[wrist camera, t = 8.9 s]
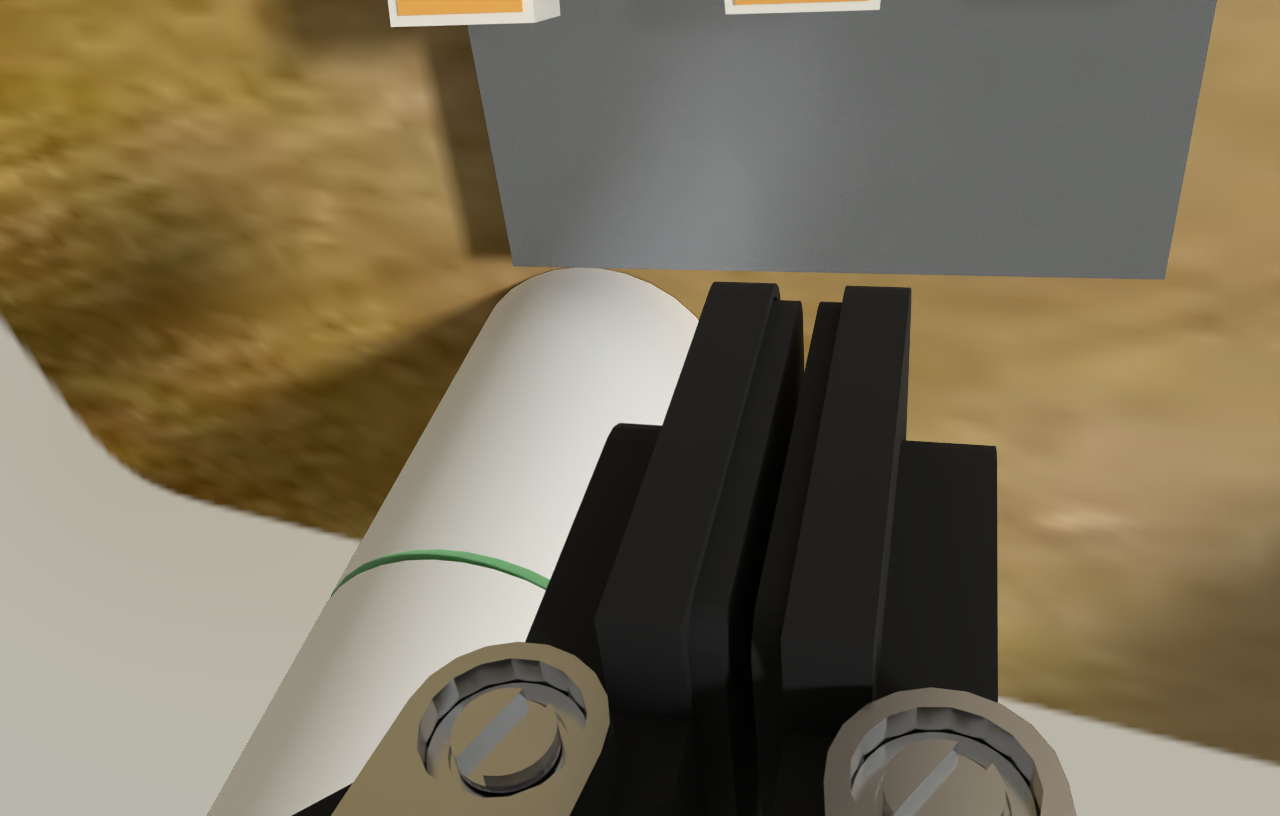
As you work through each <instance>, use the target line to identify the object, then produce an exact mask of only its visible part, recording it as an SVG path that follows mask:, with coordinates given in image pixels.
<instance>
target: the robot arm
mask: <svg viewBox="0 0 1280 816" xmlns="http://www.w3.org/2000/svg"><path fill="white" fill-rule="evenodd" d="M910 320H911V288H903V287H871V286H846V288H845V292H844V296H843V302H820V303H819V306H818V311H817V316H816V320H815V325H814V330H813V334H812V339H811V344H810V349H809V353H808V358H807V363H806V368H805V372H804V342H803V311H802V304H801V301H785V300H780V293H779V287H778V285H777V284H774V283H742V282H714V283H713V284H712V286H711V288H710V290H709V293H708V296H707V299H706V302H705V305H704V307H703V310H702V313H701V316H700V319H699V322H698V325H697V327H696V330H695V333H694V336H693V339H692V342H691V345H690V347H689V350H688V353H687V356H686V359H685V362H684V365H683V367H682V370H681V373H680V376H679V379H678V382H677V385H676V387H675V390H674V393H673V396H672V399H671V402H670V405H669V407H668V410H667V413H666V416H665V419H664V422H663V425H646V424H630V423H618V424H617V425H616V426H614V427H613V428H612V430H611V432H610V434H609V436H608V438H607V440H606V442H605V445H604V447H603V450H602V452H601V455H600V457H599V460H598V462H597V465H596V467H595V470H594V472H593V475H592V477H591V479H590V482H589V484H588V487H587V489H586V492H585V494H584V497H583V499H582V502H581V504H580V507H579V509H578V512H577V514H576V517H575V519H574V522H573V524H572V527H571V529H570V532H569V534H568V537H567V539H566V542H565V544H564V546H563V549H562V551H561V554H560V556H559V559H558V561H557V564H556V566H555V569H554V571H553V574H552V576H551V579H550V581H549V584H548V586H547V589H546V591H545V594H544V596H543V599H542V601H541V604H540V606H539V609H538V611H537V613H536V616H535V618H534V621H533V623H532V626H531V628H530V631H529V633H528V636H527V638H526V641H525V642H513V643H505V644H498V645H491V646H486V647H483V648H480V649H478V650H475V651H473V652H470V653H467V654H465V655H462V656H460V657H457V658H455V659H454V660H452V661H451V662H449V663H448V664H446V665H445V666H443V667H442V668H440V669H439V670H438V671H436V672H435V673H433V674H432V675H430V676H429V677H428V678H427V679H426V681H425V682H424V683H423V684H422V685H421V686H420V687H419V688H418V690H417V691H416V692H415V693H414V694H413V695H412V696H411V697H410V699H409V700H408V701H407V703H406V704H405V706H404V707H403V709H402V710H401V712H400V713H399V715H398V716H397V718H396V719H395V721H394V722H393V724H392V725H391V727H390V728H389V730H388V731H387V733H386V734H385V736H384V737H383V739H382V740H381V742H380V743H379V745H378V746H377V748H376V749H375V751H374V752H373V754H372V755H371V757H370V758H369V760H368V761H367V763H366V764H365V766H364V767H363V769H362V770H361V772H360V773H359V775H358V776H357V778H356V779H355V780H354V782H353V783H351V784H350V785H348V786H346V787H344V788H342V789H340V790H338V791H337V792H335V793H333V794H331V795H329V796H327V797H325V798H323V799H322V800H320V801H318V802H316V803H314V804H312V805H310V806H309V807H307V808H305V809H303V810H301V811H299V812H297V813H295V814H294V815H292V816H1076V812H1075V808H1074V804H1073V800H1072V795H1071V791H1070V787H1069V783H1068V781H1067V778H1066V776H1065V774H1064V771H1063V769H1062V767H1061V764H1060V762H1059V760H1058V758H1057V755H1056V753H1055V751H1054V750H1053V749H1052V748H1051V746H1050V745H1049V744H1048V743H1047V742H1046V741H1045V739H1044V738H1043V737H1042V736H1041V735H1040V734H1039V732H1038V731H1037V730H1036V729H1035V728H1034V727H1033V726H1032V725H1031V724H1030V723H1028V722H1027V721H1025V720H1024V719H1023V718H1021V717H1020V716H1018V715H1017V714H1015V713H1014V712H1012V711H1011V710H1009V709H1007V708H1006V707H1005V706H1003V705H1002V704H999V703H998V626H997V451H996V446H985V445H968V444H952V443H936V442H920V441H906V424H907V398H908V372H909V346H910Z"/></svg>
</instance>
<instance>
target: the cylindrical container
mask: <svg viewBox="0 0 1280 816" xmlns="http://www.w3.org/2000/svg"><path fill="white" fill-rule="evenodd" d="M698 322H699V321H698V319H697V318H696V317H695V316H694V315H693V314H692V313H691V312H690V311H689V310H688V309H686V308H685V307H684V306H683V305H682V304H681V303H680V302H678V301H677V300H676V299H675V298H674V297H672V296H670V295H669V294H667V293H665V292H664V291H662V290H660V289H659V288H657V287H655V286H654V285H652V284H650V283H648V282H645V281H642V280H640V279H637V278H635V277H632V276H630V275H627V274H624V273H619V272H614V271H610V270H605V269H600V268H568V269H560V270H553V271H550V272H547V273H543V274H540V275H537V276H534V277H531V278H530V279H528V280H526V281H524V282H523V283H521V284H519V285H518V286H516V287H514V288H512V289H511V290H510V291H509V292H508V293H507V294H506V295H505V296H504V297H503V298H502V299H501V300H500V301H499V302H498V303H497V304H496V306H495V307H494V309H493V311H492V312H491V314H490V316H489V317H488V319H487V321H486V322H485V324H484V326H483V328H482V329H481V331H480V333H479V335H478V336H477V338H476V340H475V342H474V344H473V345H472V347H471V349H470V351H469V352H468V354H467V356H466V358H465V359H464V361H463V363H462V365H461V367H460V368H459V370H458V372H457V374H456V375H455V377H454V379H453V381H452V382H451V384H450V386H449V388H448V389H447V391H446V393H445V395H444V397H443V398H442V400H441V402H440V404H439V405H438V407H437V409H436V411H435V412H434V414H433V416H432V418H431V419H430V421H429V423H428V425H427V427H426V428H425V430H424V432H423V434H422V435H421V437H420V439H419V441H418V442H417V444H416V446H415V448H414V449H413V451H412V453H411V455H410V457H409V458H408V460H407V462H406V464H405V465H404V467H403V469H402V471H401V472H400V474H399V476H398V478H397V480H396V481H395V483H394V485H393V487H392V488H391V490H390V492H389V494H388V495H387V497H386V499H385V501H384V502H383V504H382V506H381V508H380V510H379V511H378V513H377V515H376V517H375V518H374V520H373V522H372V524H371V525H370V527H369V529H368V531H367V532H366V534H365V536H364V538H363V540H362V541H361V543H360V545H359V547H358V548H357V550H356V552H355V554H354V555H353V557H352V559H351V561H350V563H349V564H348V566H347V568H346V570H345V572H344V573H343V575H342V577H341V578H340V580H339V582H338V584H337V585H336V587H335V589H334V591H333V593H332V595H331V598H330V599H329V601H328V602H327V603H326V605H325V607H324V608H323V610H322V612H321V614H320V616H319V618H318V619H317V621H316V623H315V624H314V626H313V628H312V630H311V632H310V633H309V635H308V637H307V639H306V640H305V642H304V644H303V646H302V647H301V650H300V651H299V653H298V654H297V656H296V658H295V660H294V662H293V663H292V665H291V667H290V669H289V670H288V672H287V674H286V676H285V678H284V679H283V681H282V683H281V685H280V686H279V688H278V690H277V692H276V694H275V695H274V698H273V699H272V701H271V702H270V704H269V706H268V708H267V710H266V711H265V713H264V715H263V717H262V718H261V720H260V722H259V724H258V726H257V727H256V729H255V731H254V733H253V734H252V736H251V738H250V740H249V742H248V743H247V745H246V747H245V749H244V750H243V752H242V754H241V756H240V758H239V759H238V761H237V763H236V765H235V766H234V768H233V770H232V772H231V773H230V775H229V777H228V779H227V781H226V783H225V784H224V786H223V788H222V790H221V791H220V793H219V795H218V797H217V798H216V800H215V802H214V804H213V805H212V807H211V809H210V811H209V813H208V814H207V816H292V815H294V814H295V813H297V812H299V811H301V810H303V809H305V808H307V807H309V806H310V805H312V804H314V803H316V802H318V801H320V800H322V799H323V798H325V797H327V796H329V795H331V794H333V793H335V792H337V791H338V790H340V789H342V788H344V787H346V786H348V785H350V784H351V783H353V782H354V780H355V779H356V778H357V776H358V775H359V773H360V772H361V770H362V769H363V767H364V766H365V764H366V763H367V761H368V760H369V758H370V757H371V755H372V754H373V752H374V751H375V749H376V748H377V746H378V745H379V743H380V742H381V740H382V739H383V737H384V736H385V734H386V733H387V731H388V730H389V728H390V727H391V725H392V724H393V722H394V721H395V719H396V718H397V716H398V715H399V713H400V712H401V710H402V709H403V707H404V706H405V704H406V703H407V701H408V700H409V699H410V697H411V696H412V695H413V694H414V693H415V692H416V691H417V690H418V688H419V687H420V686H421V685H422V684H423V683H424V682H425V681H426V679H427V678H428V677H429V676H430V675H432V674H433V673H435V672H436V671H438V670H439V669H440V668H442V667H443V666H445V665H446V664H448V663H449V662H451V661H452V660H454V659H455V658H457V657H460V656H462V655H465V654H467V653H470V652H473V651H475V650H478V649H480V648H483V647H486V646H491V645H498V644H505V643H513V642H525V641H526V638H527V636H528V633H529V631H530V628H531V626H532V623H533V621H534V618H535V616H536V613H537V611H538V609H539V606H540V604H541V601H542V599H543V596H544V594H545V591H546V589H547V586H548V584H549V581H550V579H551V576H552V574H553V571H554V569H555V566H556V564H557V561H558V559H559V556H560V554H561V551H562V549H563V546H564V544H565V542H566V539H567V537H568V534H569V532H570V529H571V527H572V524H573V522H574V519H575V517H576V514H577V512H578V509H579V507H580V504H581V502H582V499H583V497H584V494H585V492H586V489H587V487H588V484H589V482H590V479H591V477H592V475H593V472H594V470H595V467H596V465H597V462H598V460H599V457H600V455H601V452H602V450H603V447H604V445H605V442H606V440H607V438H608V436H609V434H610V432H611V430H612V428H613V427H614V426H616V425H617V424H618V423H630V424H646V425H663V422H664V419H665V416H666V413H667V410H668V407H669V405H670V402H671V399H672V396H673V393H674V390H675V387H676V385H677V382H678V379H679V376H680V373H681V370H682V367H683V365H684V362H685V359H686V356H687V353H688V350H689V347H690V345H691V342H692V339H693V336H694V333H695V330H696V327H697V325H698Z"/></svg>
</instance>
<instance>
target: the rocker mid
mask: <svg viewBox="0 0 1280 816" xmlns="http://www.w3.org/2000/svg"><path fill="white" fill-rule="evenodd" d="M724 2H725V14H758V13H792V12H826V11H859V10H880V4H881V0H724Z"/></svg>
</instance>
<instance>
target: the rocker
mask: <svg viewBox="0 0 1280 816" xmlns="http://www.w3.org/2000/svg"><path fill="white" fill-rule="evenodd" d="M388 6H389V15H390V23H391V27H409V26H443V25H477V24H511V23H536V22H539V21H543V20H547V19H550V18H554V17H557V16H560V2H559V0H388Z"/></svg>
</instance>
